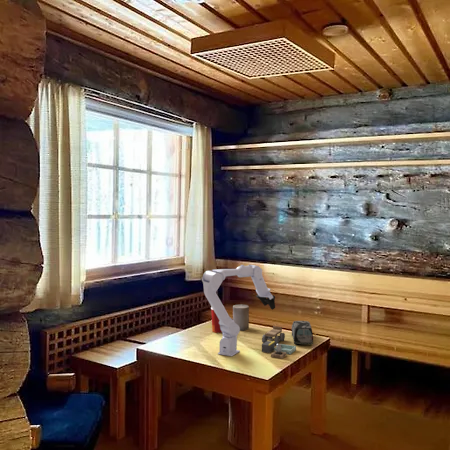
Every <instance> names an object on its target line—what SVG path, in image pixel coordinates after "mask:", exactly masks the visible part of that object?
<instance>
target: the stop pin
mask: <svg viewBox="0 0 450 450" xmlns="http://www.w3.org/2000/svg"><path fill="white" fill-rule="evenodd" d="M281 344H282V343H279V344H277V345H275V347H276V354H279V355H281Z"/></svg>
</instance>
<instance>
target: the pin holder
mask: <svg viewBox="0 0 450 450" xmlns="http://www.w3.org/2000/svg"><path fill="white" fill-rule="evenodd" d="M286 356H287V354H286V352H281V355H279V354H276V351H275V350H273V351H272V352H270V357H271V358H275V359H282V360H283V359H284V358H285V357H286Z"/></svg>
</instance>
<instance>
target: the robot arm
mask: <svg viewBox="0 0 450 450" xmlns="http://www.w3.org/2000/svg"><path fill="white" fill-rule="evenodd" d="M232 276H233V277H234V276H237V277H238V278H250V277H251V280H252V282H253V285H254V287H255V292H256V294H257V295H255V297H256V298H257V299H258V300H259V301H260V302H261V303H262V304H263V306H264V307H266V306H267V305H268V307H269V308H270V309H271V310H272V311H273V310H275V309H276V304H275V301H276V300H275V299H276V296H275V295H273V294H272V293H271V292H270V291H271V288H268V285H267V283H266V281H265V279H264V276H263V269H262V267H260V266H259V265H254V264H248V265H245V264H240V265H239V266H237V267H236V268H221V269H220V268H219V269H217V268H216V269H211V270H205V272H204V273H203V275H202V278H201V282H202V284H203V293H204V294H203V295H204V296H205V297H206V299H207V301H208V303H209V305H210V306H211V307H212V308H213V310H214V312H215V313H216V315H217V317H218V319H219V320H220V321H219V324H220V329H221V331H222V332H221V333H222V338H221V339H220V340H219V352H217V354H218V355H221V356H222V355H223V356H228V357H233V356H235V355H237V354H238V353H239V352H240V350H239V349H237V345H238V344H237V343H238V340H237V339H238V335H239V333H240V332H241V330H240V327H239V326H238V325H237V324H236V323H235V322H234V321H233V318H231V316H230V315H229V314H228V312H227V310H226V308H225V306H224V305H223V303H222V301H221V299H220V297H219V296H218V294H217V291H218V289H219V288H220V286H221V284H222V283H223V281H225V279H226V278H227V277H232Z"/></svg>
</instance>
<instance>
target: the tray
mask: <svg viewBox="0 0 450 450" xmlns="http://www.w3.org/2000/svg"><path fill="white" fill-rule="evenodd" d="M280 344H281V352H286V355H290V356H291V355H292V354H293V353H294V352H295V351H297V346H295V345H290V344H283V343H280ZM274 351H276V346H275V350H274Z"/></svg>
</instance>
